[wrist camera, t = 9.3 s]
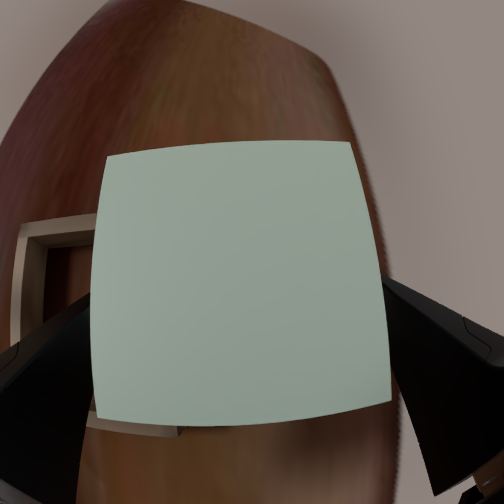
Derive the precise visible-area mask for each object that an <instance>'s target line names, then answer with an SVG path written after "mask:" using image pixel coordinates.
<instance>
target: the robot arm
mask: <svg viewBox="0 0 504 504" xmlns="http://www.w3.org/2000/svg"><path fill="white" fill-rule="evenodd" d="M380 276H381V282H382V289H383V296H384V304H385V312H386V321H387V331H388V342H389V355H390V366H391V368H392V371H393V373H394V376H395V378H396V381H397V384H398V386H399V389H400V391H401V394H402V397H403V399H404V402H405V405H406V407H407V410H408V413H409V416H410V419H411V422H412V425H413V427H414V430H415V433H416V436H417V439H418V442H419V443H420V444H419V446H420V449H421V453H422V455H423V459H424V462H425V466H426V469H427V473H428V476H429V480H430V483H431V487H432V491H433V494H434V496H437V495H439V494H441V493H443V492H445V491H447V490H449V489H451V488H452V487H454V486H456V485H458V484H460V483H461V482H463V481H465V480H466V479H468V478H470V477H471V476H473V478H474V480H475V483H476V485H475V486H473V487H472V488H470V489H468V490H467V491H465V492H463V493H462V496H461V498H460V501H459V503H458V504H504V337H503V336H501V335H499V334H497V333H495V332H493V331H491V330H489V329H487V328H485V327H483V326H481V325H479V324H477V323H475V322H473V321H471V320H469V319H467V318H466V317H462V315H460V314H458V313H456V312H455V311H453V310H451V309H449V308H447V307H445V306H443V305H441V304H439V303H437V302H436V301H434V300H432V299H430V298H428V297H426V296H424V295H422V294H420V293H418V292H416V291H414V290H412V289H410V288H408V287H407V286H405V285H403V284H401V283H399V282H397V281H395V280H393V279H391V278H389V277H387V276H384V275H380ZM90 297H91V292H89V293H88V294H86V295H85V296H83V297H82V298H80V299H79V300H77V301H76V302H74V303H73V304H71V305H70V306H68V307H67V308H65V309H64V310H62V311H61V312H59V313H58V314H56V315H55V316H54V317H52V318H51V319H49V320H48V321H46V322H45V323H43V324H42V325H41V326H39V327H38V328H36V329H35V330H33V331H32V332H31V333H29V334H28V335H26V336H25V337H24V338H22V339H21V340H20V342H19V341H18V342H17V343H15V344H14V345H13V346H11V347H10V348H8V349H7V350H6V351H4V352H3V353H1V354H0V504H76V493H77V483H78V475H79V467H80V459H81V452H82V446H83V440H84V435H85V429H86V424H87V419H88V414H89V409H90V405H91V400H92V396H93V392H94V385H93V374H92V359H91V337H90Z"/></svg>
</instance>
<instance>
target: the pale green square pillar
mask: <svg viewBox="0 0 504 504" xmlns="http://www.w3.org/2000/svg"><path fill="white" fill-rule="evenodd" d="M90 337H91V359H92V374H93V385H94V395H95V403H96V411H97V418H102V419H109V420H116V421H124V422H133V423H144V424H156V425H174V426H232V425H251V424H263V423H274V422H283V421H292V420H299V419H306V418H313V417H319V416H325V415H330V414H335V413H341V412H345V411H350V410H355V409H359V408H363V407H368V406H372V405H376V404H380V403H383V402H387V401H391V372H390V355H389V342H388V331H387V321H386V312H385V304H384V296H383V289H382V282H381V276H380V270H379V264H378V258H377V252H376V247H375V242H374V237H373V232H372V227H371V222H370V218H369V213H368V209H367V205H366V201H365V196H364V192H363V188H362V185H361V181H360V177H359V173H358V170H357V166H356V162H355V159H354V156H353V152H352V149H351V146H350V142H335V141H290V140H289V141H244V142H225V143H210V144H198V145H187V146H178V147H169V148H160V149H153V150H145V151H138V152H132V153H125V154H119V155H114V156H108V157H107V161H106V166H105V171H104V176H103V182H102V187H101V193H100V199H99V206H98V213H97V220H96V228H95V237H94V247H93V259H92V273H91V297H90Z"/></svg>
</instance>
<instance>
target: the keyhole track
mask: <svg viewBox="0 0 504 504" xmlns="http://www.w3.org/2000/svg"><path fill="white" fill-rule="evenodd" d="M96 220H97V213H93V214H85V215H78V216H70V217H63V218H56V219H49V220H43V221H37V222H30V223H24V224H21V226H20V231H19V237H18V243H17V249H16V256H15V264H14V272H13V283H12V296H11V323H10V334H11V346H13V345H14V344H15V343H17V342H18V341H19V342H20V340H21V339H22V338H24V337H25V336H26V335H28V334H29V333H31V332H32V331H33V330H35V329H36V328H38V327H39V326H41V325H42V324H43V299H44V283H45V271H46V261H47V253H48V249H50V248H61V247H73V246H85V245H94V237H95V228H96ZM86 426H87V427H92V428H97V429H103V430H109V431H115V432H122V433H129V434H138V435H147V436H159V437H174V438H178V437H179V436H180V434H181V433H182V431H183V430H184V428H185V427H186V426H174V425H156V424H144V423H133V422H124V421H116V420H109V419H102V418H97V411H96V403H95V401H92V400H91V405H90V409H89V414H88V419H87V424H86Z"/></svg>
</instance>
